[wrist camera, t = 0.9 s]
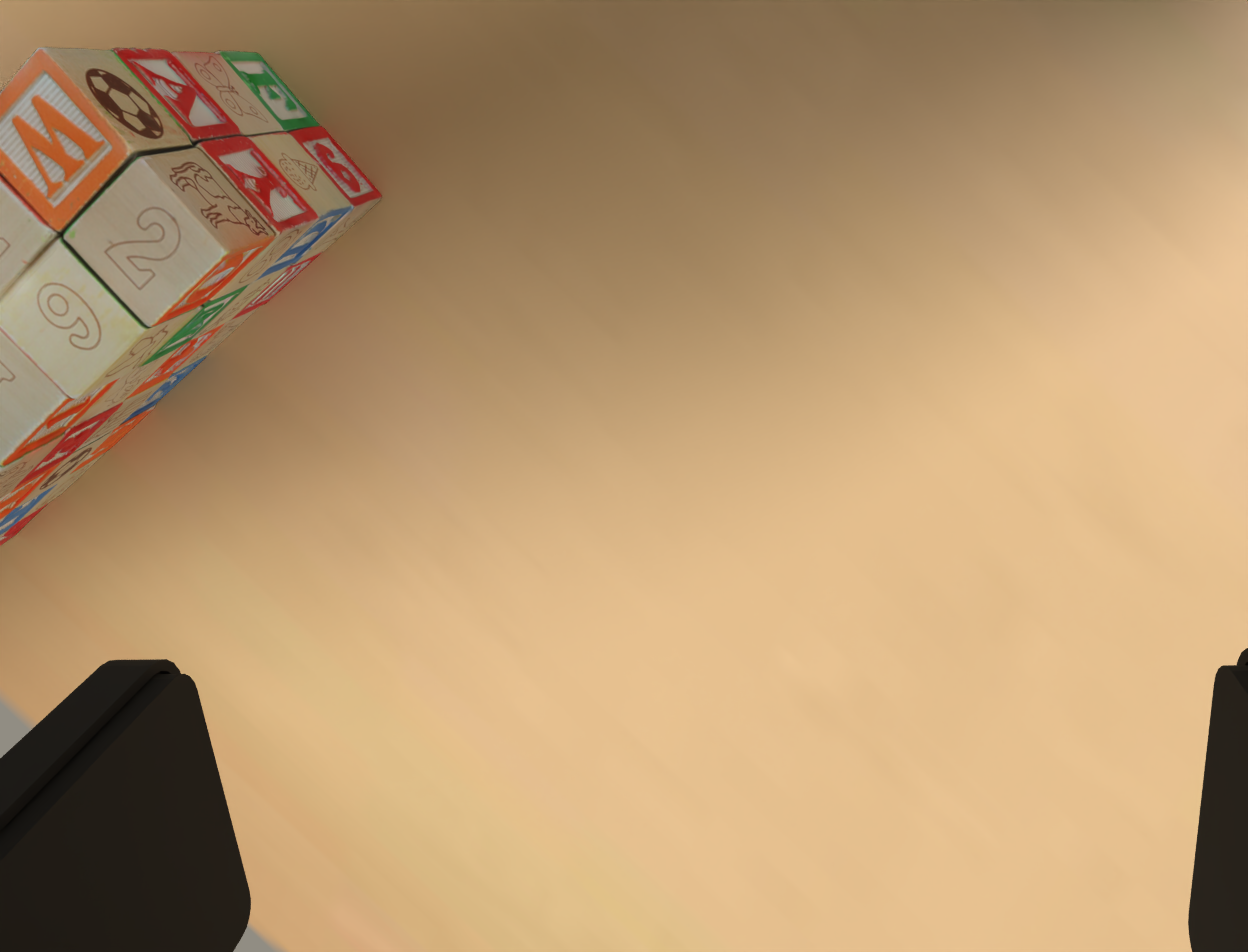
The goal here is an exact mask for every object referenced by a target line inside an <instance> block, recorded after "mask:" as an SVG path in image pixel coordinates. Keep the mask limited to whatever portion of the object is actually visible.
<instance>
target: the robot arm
mask: <svg viewBox="0 0 1248 952" xmlns="http://www.w3.org/2000/svg"><path fill="white" fill-rule="evenodd" d="M250 909H251V898H250V891H249V887H248V883H247V879H246V876H245V872H244V868H243V864H242V860H241V856H240V852H239V849H238V845H237V841H236V837H235V833H234V829H233V825H232V822H231V818H230V814H229V810H228V806H227V802H226V799H225V795H224V791H223V787H222V783H221V779H220V775H219V772H218V768H217V764H216V760H215V756H214V752H213V749H212V745H211V741H210V737H209V733H208V729H207V725H206V722H205V718H204V714H203V710H202V706H201V702H200V698H199V695H198V691H197V688H196V685H195V683H194V681H193V680H192V678H191V677H190V676H188V675H186V674H181V673H180V670H179V669H178V668H177V666H176V665H175V664H174V663H173V662H171V661H169V660H167V659H164V660H112V661H108V662H106V663H105V664H103V665H101V666H100V667H99V668H98V669H97V670H96V671H95V672H94V673H93V674H91V675H90V676H89V677H88V678H87V679H86V680H85V681H84V682H83V683H82V684H81V685H80V686H78V687H77V688H76V689H75V690H74V691H73V692H72V693H71V694H70V695H69V696H68V697H67V698H65V699H64V700H63V701H62V702H61V703H60V704H59V705H58V706H57V707H56V708H55V709H54V710H52V711H51V712H50V713H49V714H48V715H47V716H46V717H45V718H44V719H43V720H42V721H41V722H39V723H38V724H37V725H36V726H35V727H34V728H33V729H32V730H31V731H30V732H29V733H28V734H27V735H25V736H24V737H23V738H22V739H21V740H20V741H19V742H18V743H17V744H16V745H15V746H13V748H11V749H10V750H9V751H8V752H7V753H6V754H5V755H4V756H3V757H2V758H0V952H233V951H234V949H235V947H236V946H237V944H238V943H239V941H240V939H241V937H242V936H243V934H244V932H245V929H246V927H247V924H248V920H249V916H250ZM1188 925H1189V936H1190V943H1191V948H1192V952H1248V648H1247V649H1245V650H1244V651H1243V652H1242V653H1241V655H1240V657H1239V659H1238V662H1237V665H1231V666H1221V667H1220V668H1219V669H1218V671H1217V673H1216V677H1215V682H1214V689H1213V698H1212V708H1211V717H1210V726H1209V735H1208V744H1207V753H1206V762H1205V771H1204V780H1203V789H1202V798H1201V807H1200V816H1199V825H1198V834H1197V844H1196V853H1195V862H1194V871H1193V880H1192V889H1191V898H1190V907H1189V920H1188Z"/></svg>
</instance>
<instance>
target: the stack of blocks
mask: <svg viewBox="0 0 1248 952" xmlns="http://www.w3.org/2000/svg"><path fill="white" fill-rule="evenodd" d="M381 197H382V196H381V194H380V193H379V191H378V190H377V189H376V188H375V187H374V186H373V184H372V183H371V182H370V181H369V180H368V179H367V177H366V176H365V175H364V174H363V173H362V172H361V170H360V169H359V168H358V167H357V166H356V165H355V163H354V162H353V161H352V160H351V159H350V158H349V156H348V155H347V154H346V153H345V152H344V151H343V150H342V149H341V147H340V146H339V145H338V144H337V143H336V142H335V140H334V139H333V138H332V137H331V136H330V135H329V133H328V132H327V131H326V130H325V129H324V128H323V127H321V126H320V125H319V124H318V123H317V122H316V121H315V119H314V118H313V117H312V116H311V115H310V113H309V112H308V111H307V110H306V109H305V108H304V106H303V105H302V104H301V103H300V102H299V101H298V99H297V98H296V97H295V96H294V95H293V94H292V92H291V91H290V90H289V89H288V88H287V86H286V85H285V84H284V83H283V82H282V81H281V79H280V78H279V77H278V76H277V75H276V74H275V72H274V71H273V70H272V69H271V68H270V67H269V66H268V64H267V63H266V62H265V61H264V59H263V58H262V57H261V56H260V55H259V54H258V53H255V52H239V51H217V52H214V53H205V52H172V53H170V52H168V51H167V50H163V49H150V48H148V49H136V48H129V49H128V48H112V49H111V50H94V49H78V48H51V47H42V48H38V49H37V50H36V51H35V52H34V53H33V54H32V55H31V56H30V58H29V59H28V60H27V61H26V62H25V63H24V64H23V66H22V67H21V68H20V69H19V70H18V72H17V73H16V74H15V75H14V76H13V78H12V79H11V80H10V81H9V82H8V84H7V85H6V86H5V87H4V88H3V90H2V91H1V92H0V545H2V544H3V543H5V542H6V541H7V540H9V539H10V538H12V537H14V536H15V535H16V534H17V533H18V532H19V531H20V530H21V529H22V528H23V527H24V526H25V525H26V524H27V523H28V522H29V521H30V520H31V519H32V518H33V517H34V516H35V515H36V514H38V513H39V512H40V511H41V510H42V509H43V508H44V507H45V506H46V505H47V504H48V503H49V502H50V501H52V500H53V499H55V498H56V497H58V496H59V495H61V494H62V493H63V492H64V491H65V490H66V489H67V488H68V487H69V486H71V485H72V484H73V483H74V482H75V481H76V480H77V479H78V478H79V477H80V476H81V475H82V474H84V473H85V472H86V471H87V470H88V469H89V468H90V467H91V466H92V465H93V464H94V463H95V462H96V461H97V460H98V459H100V458H101V457H102V456H103V455H104V453H105V452H106V451H108V450H109V449H110V448H112V447H113V446H114V445H115V444H116V443H117V442H118V441H119V440H120V439H122V438H123V437H124V436H125V435H126V434H127V433H128V432H129V431H130V430H131V429H132V428H133V427H134V426H136V425H137V424H138V423H139V422H140V421H141V420H142V419H143V418H144V417H145V416H146V415H147V414H148V413H149V412H151V411H152V410H153V409H154V408H155V407H156V403H157V402H158V401H159V400H160V399H161V398H163V397H164V396H165V395H166V394H167V393H168V392H169V391H170V390H171V389H172V388H173V387H175V386H176V385H177V384H178V383H179V382H180V381H181V380H182V379H183V378H184V377H185V376H186V375H188V374H189V373H190V372H191V371H192V370H193V369H194V368H195V367H196V366H197V365H198V364H200V363H201V362H202V361H203V360H204V359H205V358H206V356H207V355H208V354H209V353H210V352H211V351H213V350H214V349H215V348H216V347H217V346H218V345H219V344H220V343H221V342H222V341H223V340H225V339H226V338H227V337H228V336H229V335H230V334H231V333H232V332H233V331H234V330H235V329H236V328H238V327H239V326H240V325H241V324H242V323H243V322H244V321H245V320H246V319H247V318H248V317H249V316H250V315H251V314H253V313H254V312H255V311H256V310H257V309H258V308H259V307H260V306H261V305H263V304H266V303H267V302H268V301H269V300H270V299H271V298H273V297H274V296H275V295H276V294H277V293H278V292H279V291H281V290H282V289H283V288H284V287H285V286H286V285H287V284H288V283H289V282H290V281H291V280H292V279H293V278H295V277H296V276H297V275H298V274H299V273H300V272H301V271H302V270H303V269H304V268H306V267H307V266H308V265H309V264H310V263H311V262H312V261H313V260H314V259H315V258H316V257H317V256H318V255H320V254H321V253H322V252H323V251H324V250H326V249H327V248H328V247H330V246H331V245H332V244H333V243H334V242H335V241H336V240H337V239H338V238H339V237H341V236H342V235H343V234H344V233H345V232H346V231H347V230H348V229H349V228H350V227H352V226H353V225H354V224H355V223H356V222H357V221H358V220H359V219H360V218H361V217H362V216H364V215H365V214H366V213H367V212H368V211H369V210H370V209H371V208H372V207H373V206H374V205H376V204H377V203H378V202H379V201H380V199H381Z"/></svg>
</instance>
